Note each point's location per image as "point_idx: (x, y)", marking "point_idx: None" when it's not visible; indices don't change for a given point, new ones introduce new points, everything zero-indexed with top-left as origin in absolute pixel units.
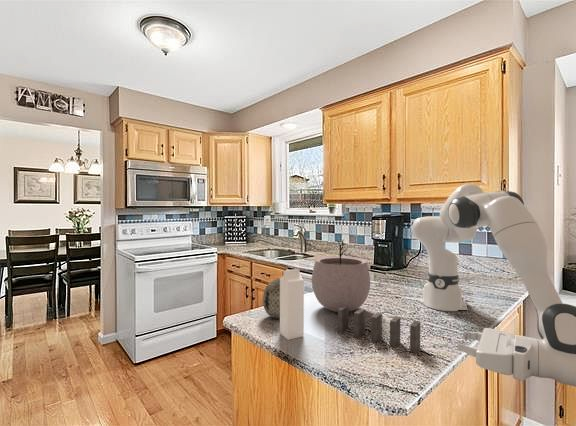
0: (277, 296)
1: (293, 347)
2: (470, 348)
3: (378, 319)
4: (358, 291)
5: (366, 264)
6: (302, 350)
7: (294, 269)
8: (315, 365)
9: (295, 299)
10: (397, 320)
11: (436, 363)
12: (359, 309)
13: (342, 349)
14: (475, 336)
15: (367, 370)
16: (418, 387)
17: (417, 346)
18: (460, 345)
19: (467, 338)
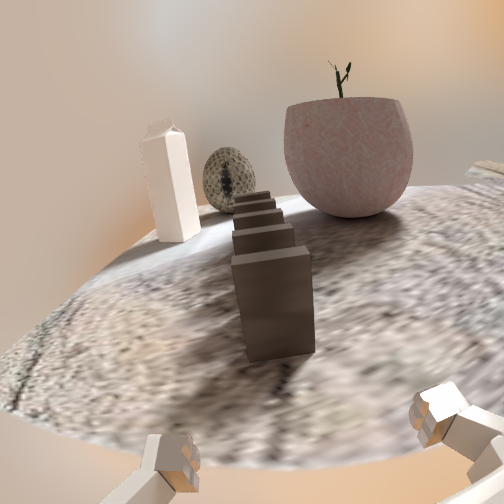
0: (206, 174)
1: (136, 253)
2: (109, 500)
3: (253, 226)
4: (340, 164)
5: (380, 103)
6: (131, 260)
7: (163, 120)
8: (86, 284)
9: (156, 173)
10: (257, 234)
11: (211, 430)
12: (266, 199)
13: (163, 278)
14: (476, 444)
15: (86, 327)
16: (34, 410)
17: (274, 345)
18: (146, 449)
19: (419, 433)
